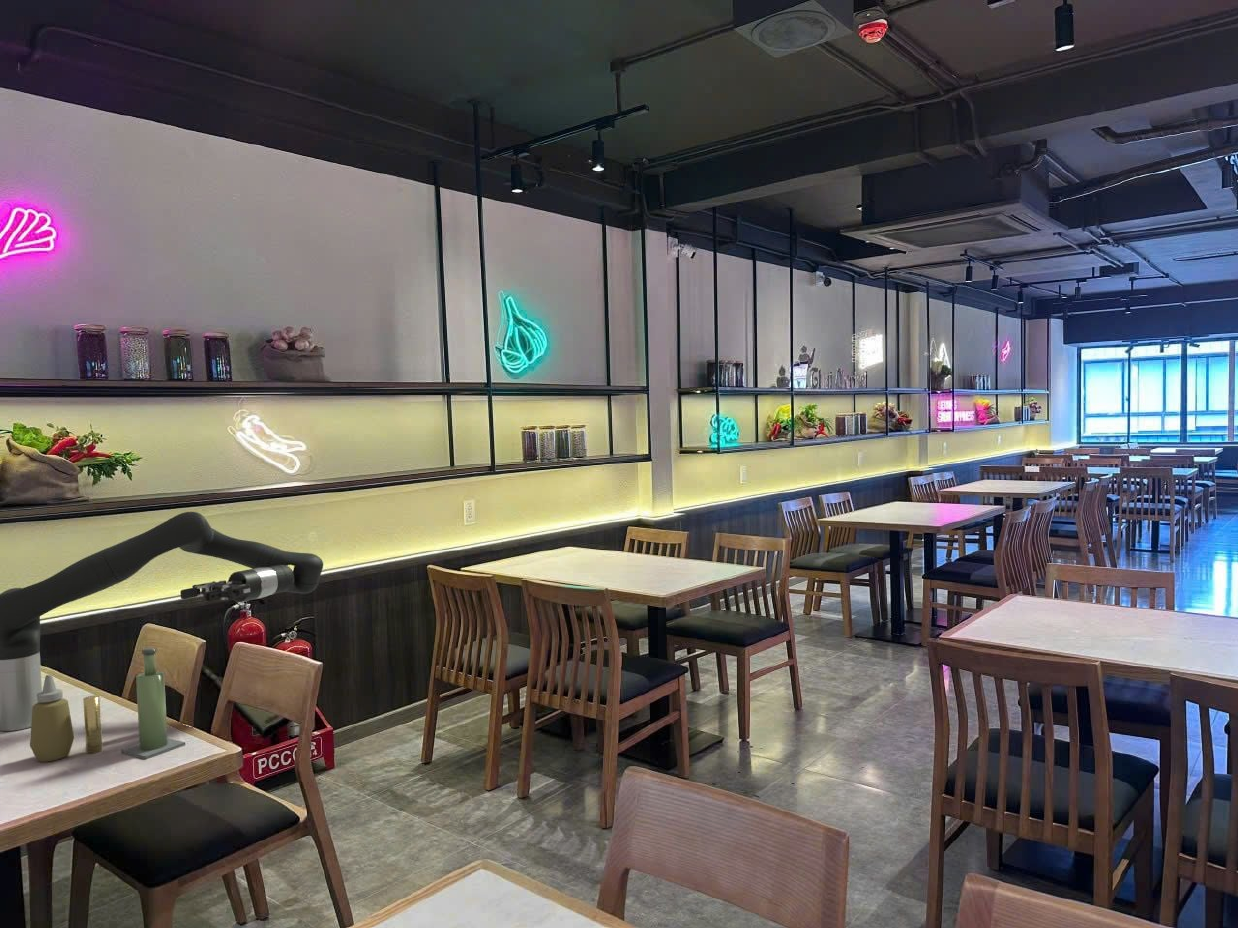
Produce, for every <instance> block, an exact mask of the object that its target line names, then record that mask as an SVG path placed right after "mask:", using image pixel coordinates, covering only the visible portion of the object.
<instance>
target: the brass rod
mask: <svg viewBox="0 0 1238 928" xmlns="http://www.w3.org/2000/svg"><path fill="white" fill-rule="evenodd" d="M82 701H83V715H84V734H85V738H84V739H85V753H86V754H89V755H90V754H93V755H94V754H97V753H99V752H101V751H103V739H102V738H103V737H102V736H103V735H102V719H101V717H102V716H101V702H100V701H101V700H100V695H96V694H95V695H89V696H86V697H84V698H83V699H82Z"/></svg>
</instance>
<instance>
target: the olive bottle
mask: <svg viewBox="0 0 1238 928" xmlns="http://www.w3.org/2000/svg"><path fill="white" fill-rule="evenodd" d="M156 653H157V648H156V647H146V648H142V649H141V654H142V655H143V671H144V672H141V673H138V674H137V675H136V677H135V679H136V680H135V682H136V699H137V720H138V741H139V742H138V744H140V749H141V750H154V749H159V748H162V747H164V746H166V745H167V744H168V741H167V738H168V727H167V726H168V725H167V705H166V702H167V701H166V686H165V685H166V684H165V682H166V681H165V671H163V670H156V669H157V668H156V665H157V664H156Z"/></svg>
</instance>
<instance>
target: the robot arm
mask: <svg viewBox="0 0 1238 928" xmlns="http://www.w3.org/2000/svg"><path fill="white" fill-rule="evenodd" d="M210 525H211V524H210V523H209V522H208V521H207V519H206V517H205V516H204V515H202V514H201V513H199V512H197V511H185V512H181V513H178V514H177V515H175V516H173V517H171V518H169V519H167V520H166V521H164V522H162V523H160V524H158V525H157V526H155V527H153V528H151V529H148V530H146V531H145V532H143V533H141V534H138V535H136V536H134V537H130V538H128V539H126V540H123V541H122V542H119V543H117V544H116V543H115V544H114V545H112V546H109V547H106V548H104V549H102V550H99V551H98V552H95V553H92V554H90V555H88V556H86V557H83V558H81V559H80V560H77V561H76V562H74V563H72V564H71V565H69V566H67V567H65V568H63V569H62V570H60V571H58V572H57V573H55V574H54V575H52V576H50V577H48V578H46V579H44V580H42V581H39V582H37V583H36V582H35V583H33V584H31V585H28V586H24V587H14V588H9V589H6V590H5V591H3V592H2V593H0V731H1V732H12V731H18V730H19V731H20V730H24V729H28V728H31V721H32V707H33V706H34V705H35V704H36V703H38V702H37V694H38V693H39V692H42V691H43V685H42V684H43V683H42V668H41V666H42V665H41V654H40V653H41V652H40V650H41V649H40V646H41V645H40V644H41V643H40V642H41V617H42V616H43V615H45V614H47V613H49V612H51V611H53V610H55V609H56V608H59V607H61V606H64V605H67V604H69V603H72V602H75V601H78V600H81V599H83V598H85V597H88V596H91V595H95V594H96V593H98V592H102V591H104V590H106V589H109V588H111V587H113V586H115V585H118V584H119V583H121V582H124V581H126V580H128V579H129V578H131V577H132V576H134V575H135V574H137V573H138V572H139V571H140V570H142V568H143V567H145V566H146V565H147V564H148V563H149V562H151V561H153V560H154V559H155V558H156V557H158V556H159V557H160V556H161V555H163V554H165V553H168V552H170V551H173V550H176V549H178V548H179V549H180V550H182V551H184V552H186V553H189V554H195V555H196V554H197V555H202V556H207V557H213V558H216V559H221V560H225V561H229V562H232V563H236V564H238V565H240V566H244V567H247V568H249V569H244V570H239V571H235V572H233V573H232V574H230V575H229V576H228V577H229V578H228V580H219V581H210V582H205V583H199V584H193V585H192V587H190V588H185V589H181V590H180V599H182V600H187V599H192V598H193V599H194V598H199V597H203V602H205V603H207V602H208V603H209V602H214V601H217V600H222V601H225V600H230V601H232V600H233V601H235V602H237V603H244V602H249V601H252V600H257V599H262V598H265V597H268V596H271V595H275V594H279V593H294V594H302V595H303V594H310V593H312V592H313V591H315V590H316V589H317V587H318V586H319V581H320V579H321V575H322V571H323V568H324V561H323V559H322V558H321V557H320V556H318V555H317V554H314V553H310V552H296V551H287V550H286V551H285V550H282V549H279V548H277V547H274V546H271V545H268V544H264V543H261V542H256V541H254V540H253V541H252V540H244V539H238V538H235V537H231V536H228V535H226V534H224V533H222V532H220V531H218V530H216V529H214V528H212V527H211V526H210ZM290 566H293V569H292V568H291V567H290Z"/></svg>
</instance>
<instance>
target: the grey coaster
mask: <svg viewBox="0 0 1238 928" xmlns="http://www.w3.org/2000/svg"><path fill="white" fill-rule="evenodd" d="M167 741H168V744H167V745H166V746H164V747H162V748H159V749H154V750H141V749H140V743H138V744H135V745H131V746H129V747H127V748H123V749H121V750H120V752H121V754H123V755H129V756H133V757H135V758H139V759H140V758H141V759H143V760H148V759H150V758H153V757H156V756H158V755H161V754H164V753H167V752H171V751H172V750H175V749H178V748H180V747H183V746H186V742H185V741H181V740H178V739H177V740H176V739H172V738H170V737H169V738H168V737H167Z"/></svg>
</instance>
